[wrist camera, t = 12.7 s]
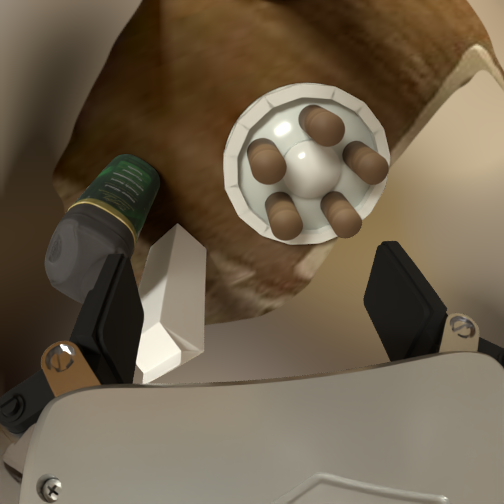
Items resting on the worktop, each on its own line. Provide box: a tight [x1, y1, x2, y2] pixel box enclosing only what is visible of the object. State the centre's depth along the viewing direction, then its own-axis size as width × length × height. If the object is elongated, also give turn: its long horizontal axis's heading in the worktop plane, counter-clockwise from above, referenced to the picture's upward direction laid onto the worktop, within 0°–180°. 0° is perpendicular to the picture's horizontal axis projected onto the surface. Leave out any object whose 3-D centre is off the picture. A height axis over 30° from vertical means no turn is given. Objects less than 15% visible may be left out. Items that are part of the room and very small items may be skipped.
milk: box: [136, 223, 207, 384], centre depth 37 cm, size 6×6×22 cm
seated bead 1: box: [265, 192, 303, 241], centre depth 40 cm, size 4×4×6 cm
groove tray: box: [223, 83, 390, 245], centre depth 40 cm, size 22×22×2 cm
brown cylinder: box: [247, 138, 287, 185], centre depth 36 cm, size 4×4×6 cm
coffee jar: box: [45, 154, 160, 304], centre depth 33 cm, size 10×8×19 cm
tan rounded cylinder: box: [298, 105, 345, 147], centre depth 34 cm, size 4×4×6 cm
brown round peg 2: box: [342, 141, 389, 185], centre depth 37 cm, size 4×4×6 cm
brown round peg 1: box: [320, 191, 362, 238], centre depth 41 cm, size 4×4×6 cm
